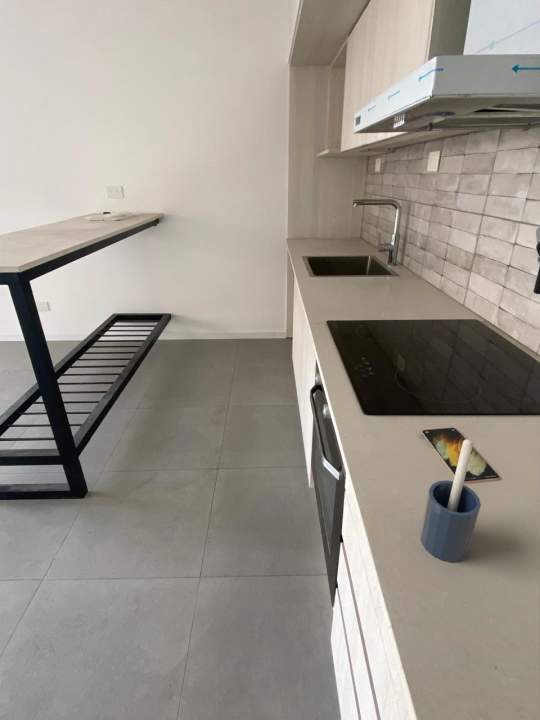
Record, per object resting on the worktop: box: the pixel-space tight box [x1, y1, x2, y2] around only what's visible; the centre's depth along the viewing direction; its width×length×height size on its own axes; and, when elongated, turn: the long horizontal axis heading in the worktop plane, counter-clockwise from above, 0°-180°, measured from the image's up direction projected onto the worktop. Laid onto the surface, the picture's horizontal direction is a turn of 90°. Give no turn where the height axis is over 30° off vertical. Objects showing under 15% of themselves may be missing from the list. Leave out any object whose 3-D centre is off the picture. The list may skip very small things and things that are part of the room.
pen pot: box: [420, 479, 482, 563], centre depth 54 cm, size 6×6×9 cm
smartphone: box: [421, 427, 500, 484], centre depth 73 cm, size 7×1×15 cm
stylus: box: [447, 438, 474, 512], centre depth 54 cm, size 1×1×16 cm
